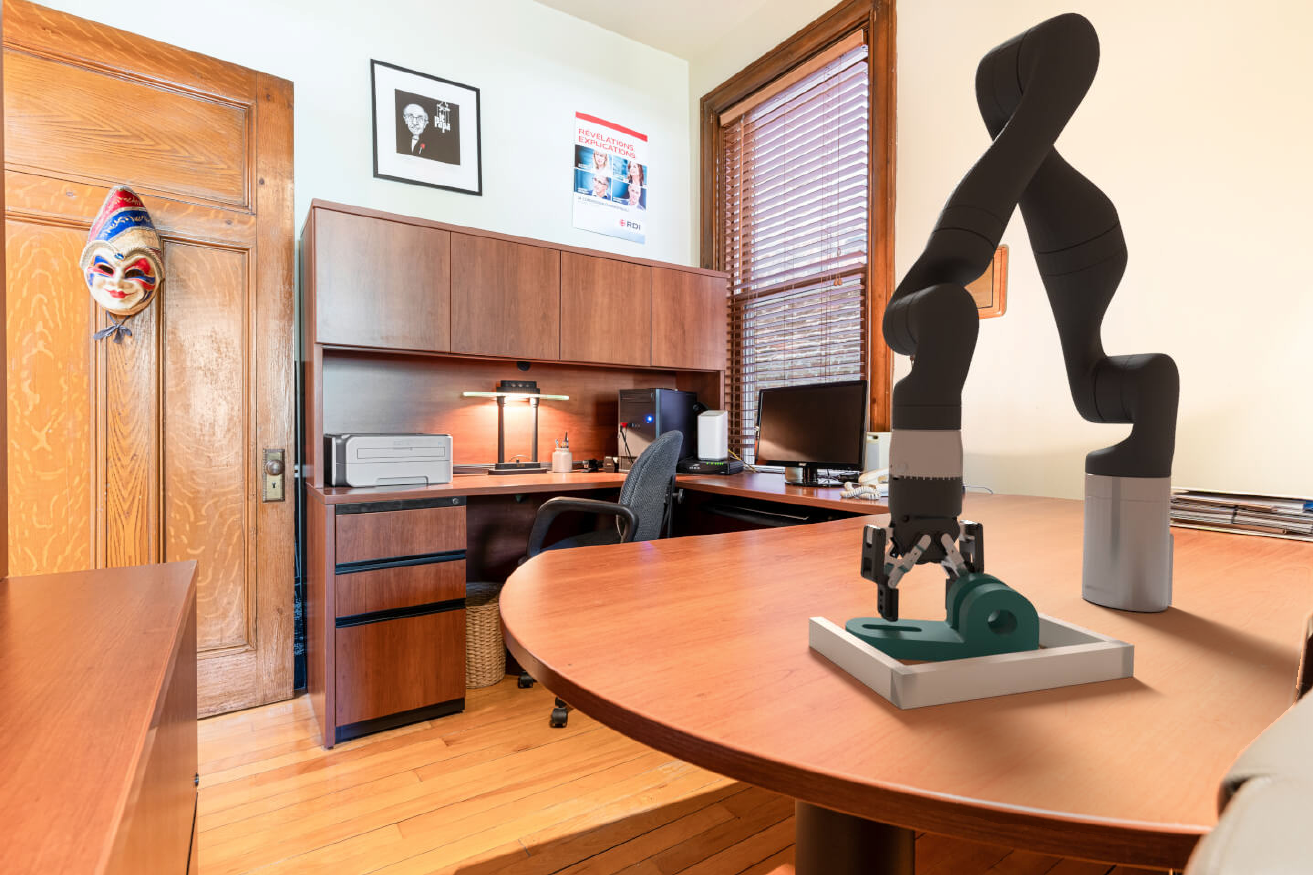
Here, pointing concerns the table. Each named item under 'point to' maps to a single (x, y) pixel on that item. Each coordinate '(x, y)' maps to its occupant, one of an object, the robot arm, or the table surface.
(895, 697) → the white open frame
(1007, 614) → the bracket
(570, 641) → the table surface
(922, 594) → the table surface
